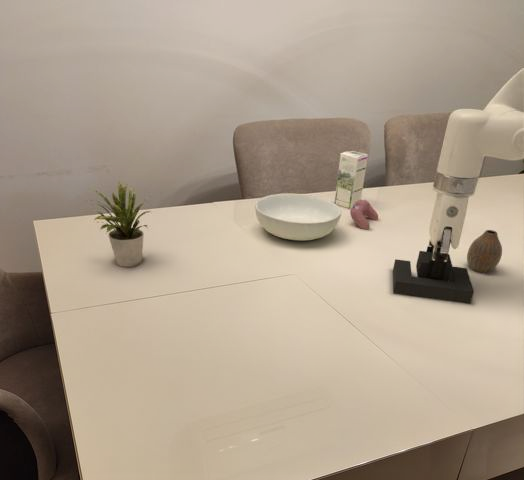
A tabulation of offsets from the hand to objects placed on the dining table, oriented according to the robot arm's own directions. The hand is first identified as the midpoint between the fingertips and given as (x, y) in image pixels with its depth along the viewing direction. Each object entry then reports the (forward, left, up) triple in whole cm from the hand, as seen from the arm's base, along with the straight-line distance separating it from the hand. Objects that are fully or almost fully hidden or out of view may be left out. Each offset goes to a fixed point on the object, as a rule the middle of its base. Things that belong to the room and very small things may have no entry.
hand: (432, 271), depth 103 cm
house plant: (+64, +8, -3) cm, 65 cm away
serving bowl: (+31, -19, -3) cm, 37 cm away
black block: (0, 0, -1) cm, 1 cm away
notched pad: (0, +2, -3) cm, 3 cm away
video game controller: (+15, -32, -3) cm, 36 cm away
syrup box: (+20, -46, -3) cm, 51 cm away
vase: (-12, -11, -3) cm, 17 cm away
